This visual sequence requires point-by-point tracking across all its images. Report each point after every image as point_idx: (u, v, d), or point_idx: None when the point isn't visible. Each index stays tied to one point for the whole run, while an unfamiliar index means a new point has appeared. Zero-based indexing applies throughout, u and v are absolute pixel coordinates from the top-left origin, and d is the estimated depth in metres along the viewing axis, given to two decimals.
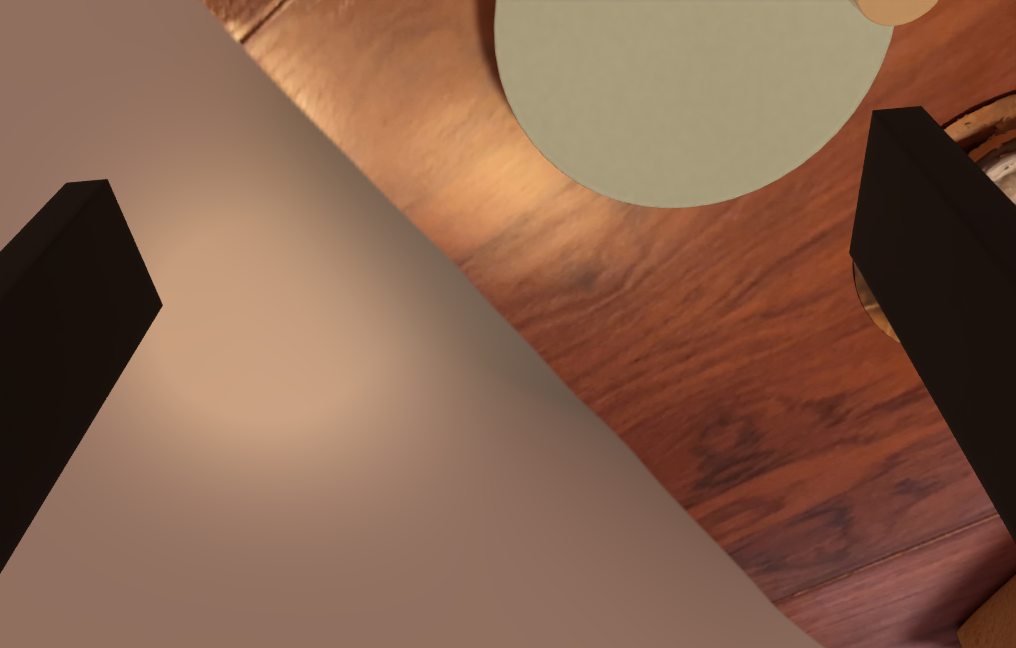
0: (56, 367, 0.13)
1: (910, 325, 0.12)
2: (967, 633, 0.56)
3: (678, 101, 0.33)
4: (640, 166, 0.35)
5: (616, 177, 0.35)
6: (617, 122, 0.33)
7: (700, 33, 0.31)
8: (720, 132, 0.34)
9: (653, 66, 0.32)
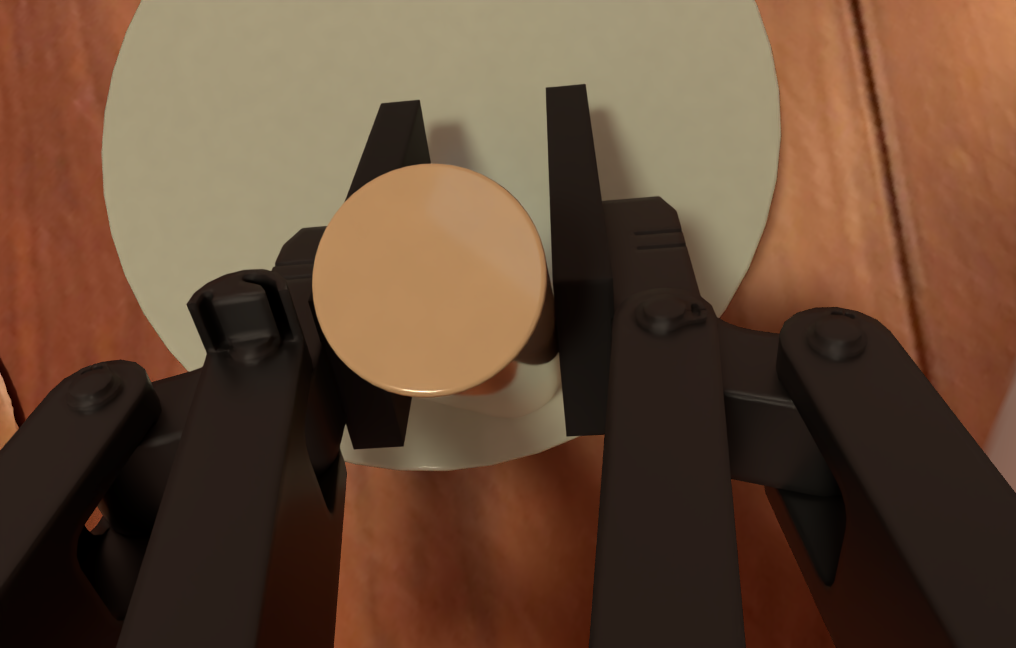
0: None
1: None
2: None
3: (334, 56, 0.18)
4: None
5: None
6: None
7: None
8: (242, 96, 0.19)
9: (414, 44, 0.18)
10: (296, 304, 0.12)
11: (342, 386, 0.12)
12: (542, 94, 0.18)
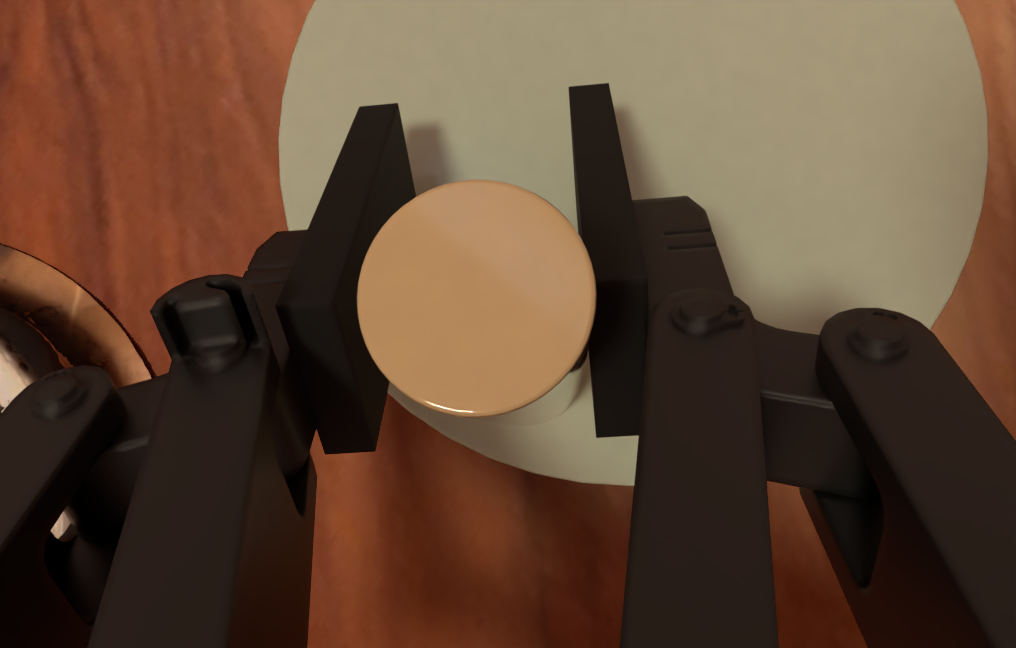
0: None
1: None
2: None
3: (591, 12, 0.18)
4: None
5: None
6: None
7: None
8: None
9: (663, 54, 0.18)
10: (266, 309, 0.12)
11: (312, 391, 0.11)
12: (731, 179, 0.17)
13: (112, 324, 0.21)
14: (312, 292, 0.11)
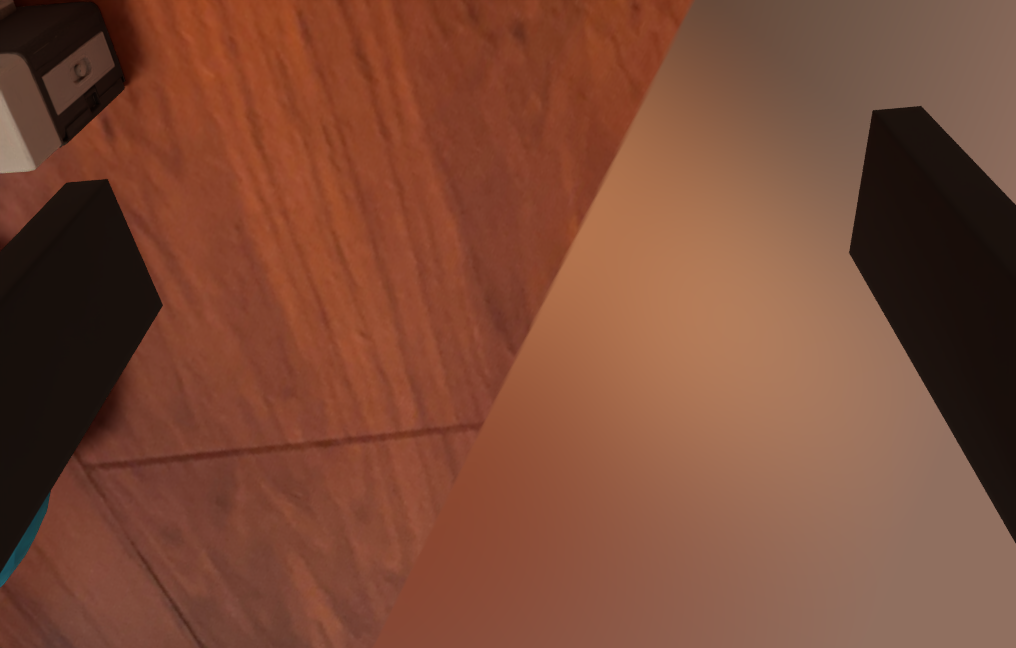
0: (56, 367, 0.13)
1: (910, 326, 0.12)
2: None
3: None
4: None
5: None
6: None
7: None
8: None
9: None
10: None
11: None
12: None
13: None
14: None
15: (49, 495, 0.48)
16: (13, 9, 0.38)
